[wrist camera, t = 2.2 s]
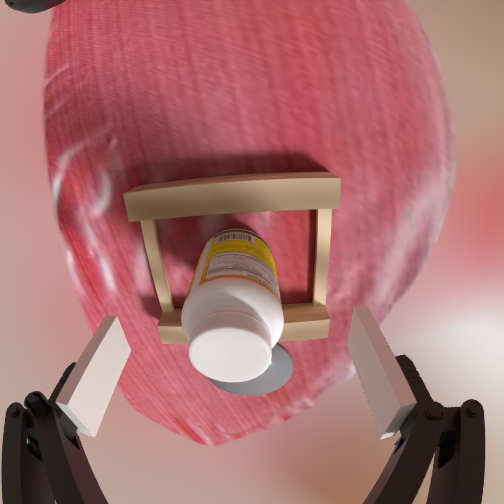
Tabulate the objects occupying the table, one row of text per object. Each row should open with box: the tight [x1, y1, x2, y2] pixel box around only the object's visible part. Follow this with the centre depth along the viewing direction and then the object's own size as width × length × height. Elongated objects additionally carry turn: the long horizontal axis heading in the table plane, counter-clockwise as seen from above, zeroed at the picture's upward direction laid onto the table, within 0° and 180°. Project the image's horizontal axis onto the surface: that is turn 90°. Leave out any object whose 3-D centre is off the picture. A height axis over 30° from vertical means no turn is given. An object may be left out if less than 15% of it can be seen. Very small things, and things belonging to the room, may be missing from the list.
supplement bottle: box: [181, 228, 284, 382], centre depth 17 cm, size 6×6×10 cm
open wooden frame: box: [123, 172, 341, 344], centre depth 20 cm, size 13×14×2 cm
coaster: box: [208, 343, 293, 396], centre depth 26 cm, size 9×9×1 cm
